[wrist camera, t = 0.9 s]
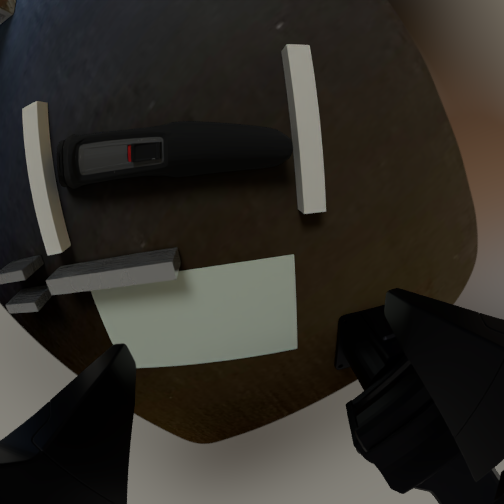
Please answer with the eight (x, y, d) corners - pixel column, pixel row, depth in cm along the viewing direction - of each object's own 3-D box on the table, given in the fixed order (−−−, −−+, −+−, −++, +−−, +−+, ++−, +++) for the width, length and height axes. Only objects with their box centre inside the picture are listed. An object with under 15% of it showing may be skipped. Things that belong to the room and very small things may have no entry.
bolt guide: (54, 293, 19) (38, 311, 16) (25, 296, 18) (9, 313, 16) (40, 254, 17) (21, 270, 15) (12, 261, 17) (-7, 275, 14)
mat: (297, 347, 23) (297, 348, 23) (125, 367, 22) (124, 368, 22) (293, 254, 20) (294, 254, 20) (88, 283, 19) (88, 284, 19)
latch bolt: (180, 263, 19) (176, 279, 17) (65, 280, 18) (51, 295, 16) (177, 247, 18) (172, 261, 16) (60, 266, 18) (45, 280, 15)
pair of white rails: (318, 206, 19) (325, 211, 18) (56, 248, 18) (47, 255, 16) (302, 51, 15) (309, 45, 13) (33, 109, 13) (22, 108, 12)
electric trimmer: (280, 176, 18) (292, 182, 15) (66, 188, 16) (44, 196, 13) (281, 122, 17) (294, 117, 14) (64, 138, 15) (41, 138, 12)
